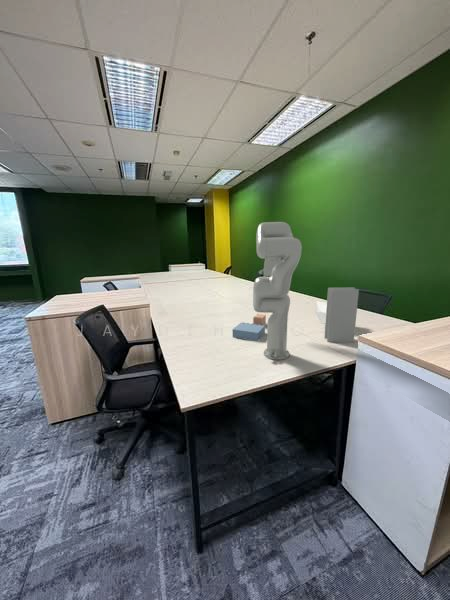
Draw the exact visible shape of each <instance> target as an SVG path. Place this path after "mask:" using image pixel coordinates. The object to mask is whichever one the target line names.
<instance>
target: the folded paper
mask: <svg viewBox="0 0 450 600" xmlns="http://www.w3.org/2000/svg"><path fill="white" fill-rule="evenodd" d="M326 309H327V302H323V301H318V300H316V301H315V314H316V316H317V318H318V320H319V323H320V324H321V325H325V323H326Z"/></svg>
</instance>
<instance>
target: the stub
mask: <svg viewBox="0 0 450 600" xmlns="http://www.w3.org/2000/svg"><path fill="white" fill-rule="evenodd" d="M252 319H253V320H252V321H253V322H252V324H258V325H266V322H267V321H266V319H267V318H266V314H260V313H257V314H256V315H254V316H253V318H252Z"/></svg>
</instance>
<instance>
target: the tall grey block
mask: <svg viewBox="0 0 450 600" xmlns="http://www.w3.org/2000/svg"><path fill="white" fill-rule="evenodd" d="M359 293H360V288H356V287H328V288H327V296H326V298H327V299H326V303H327V309H326V323H325V324H324V336H323V338H324V339H326V342H327V343H328V342H329V343H354V340H355V333H356V332H355V329H356V321H357V313H358V302H359V295H360V294H359Z"/></svg>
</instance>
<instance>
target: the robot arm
mask: <svg viewBox="0 0 450 600" xmlns="http://www.w3.org/2000/svg"><path fill="white" fill-rule="evenodd" d="M255 234H256V237H255V242H256V255H257V257H258V258H260V259H261V260H263V259H264V264H263V268H262V269H261V270H259V271H258V273H259V277H257V278H255V280H254V282H253V287H252V288H253V289H252V290H253V292H252V307H253V310H254V311H255V312H256V313H264V314H265V313H271V314H270V316H269V317H268V318H267V330H266V333H267V336H266V338H267V339H266V348H265V349H264V351H263V354H264V356H265V357H266V358H268V359H270V360H278V361H283V360H286V359H288V358H289V357H290V351H289V350H288V349H287V341H288V339H287V338H288V319H289V318H288V317H289V311H290V305H291V298H290V295H289V292H290V288H291V283H292V279H293V278H292V277H293V274H294V273H295V272H294V271H295V270H296V269H297V267H298V265H299V262H300V259H301V256H302V249H303V248H302V246H303V245H302V242H301V240H300V239H299V238H296V237H294V235H293V233H292V229H291V226H290V224H288V223H287V222H284V221H269V222H268V221H267V222H264V221H263V222H261V223H260V224H258V226H257V229H256V233H255Z"/></svg>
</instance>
